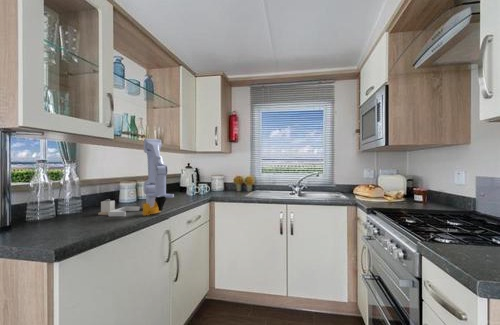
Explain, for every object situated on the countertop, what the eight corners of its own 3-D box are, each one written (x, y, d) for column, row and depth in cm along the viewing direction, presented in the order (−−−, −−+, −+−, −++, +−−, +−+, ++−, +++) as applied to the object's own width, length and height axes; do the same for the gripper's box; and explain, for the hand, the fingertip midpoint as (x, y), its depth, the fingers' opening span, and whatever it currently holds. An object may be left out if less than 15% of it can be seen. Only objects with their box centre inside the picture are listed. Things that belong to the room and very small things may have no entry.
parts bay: (124, 210, 150) (124, 206, 150) (139, 210, 150) (139, 206, 150) (108, 216, 132) (108, 211, 132) (125, 216, 132) (125, 211, 132)
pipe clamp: (154, 211, 147) (154, 200, 147) (160, 211, 146) (160, 200, 146) (140, 215, 135) (140, 203, 135) (147, 215, 134) (146, 203, 134)
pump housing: (105, 212, 144) (105, 198, 145) (117, 212, 144) (117, 198, 145) (98, 214, 137) (98, 200, 138) (110, 214, 137) (110, 200, 138)
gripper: (145, 187, 137) (145, 211, 137) (171, 186, 137) (171, 211, 137) (150, 186, 144) (150, 209, 144) (175, 186, 145) (175, 209, 144)
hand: (160, 210), depth 141 cm, fingers closed
